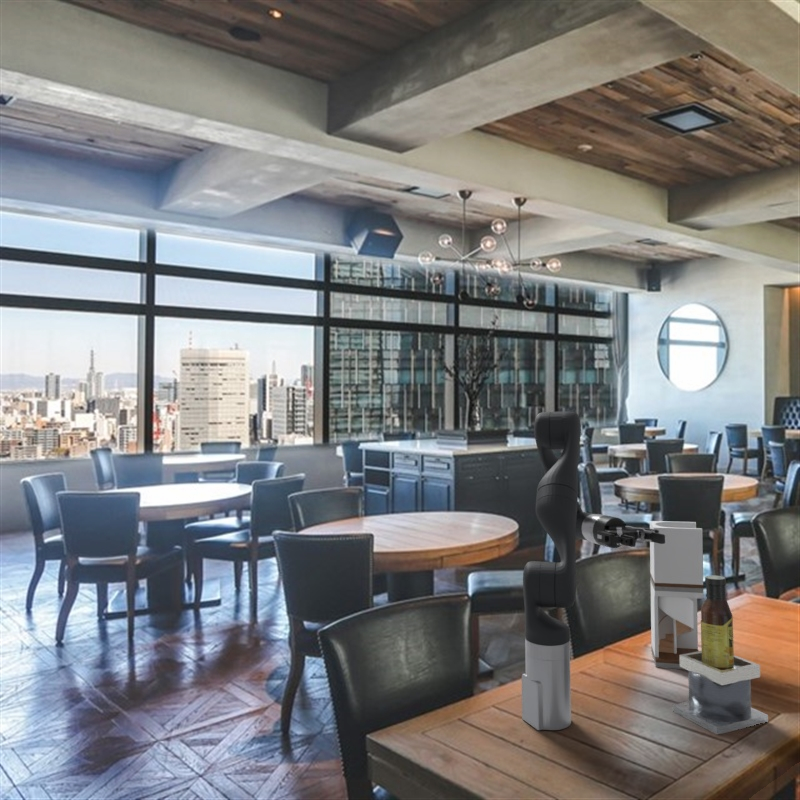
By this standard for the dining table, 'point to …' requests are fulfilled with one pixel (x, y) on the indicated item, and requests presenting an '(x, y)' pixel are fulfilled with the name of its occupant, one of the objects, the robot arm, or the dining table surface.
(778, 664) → the dining table surface
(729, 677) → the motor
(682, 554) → the white tower
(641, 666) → the dining table surface
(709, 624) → the sauce bottle
